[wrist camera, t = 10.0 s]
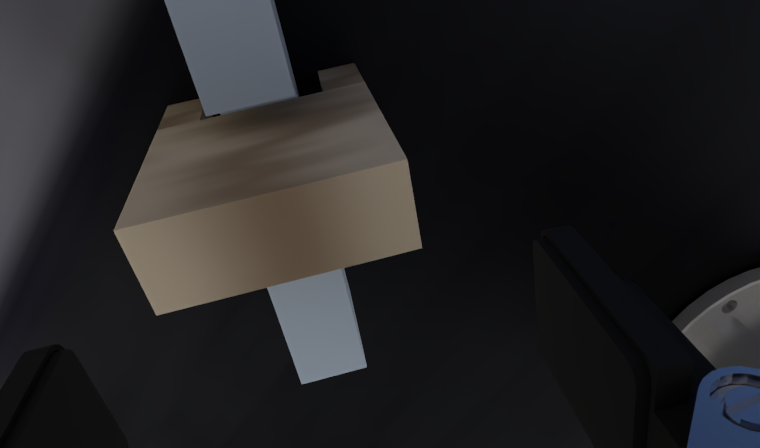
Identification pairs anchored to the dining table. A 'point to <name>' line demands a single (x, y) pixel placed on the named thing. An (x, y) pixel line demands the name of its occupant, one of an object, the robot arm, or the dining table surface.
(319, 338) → the plain gray rectangular bar
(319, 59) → the dining table surface
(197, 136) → the notched wooden block
